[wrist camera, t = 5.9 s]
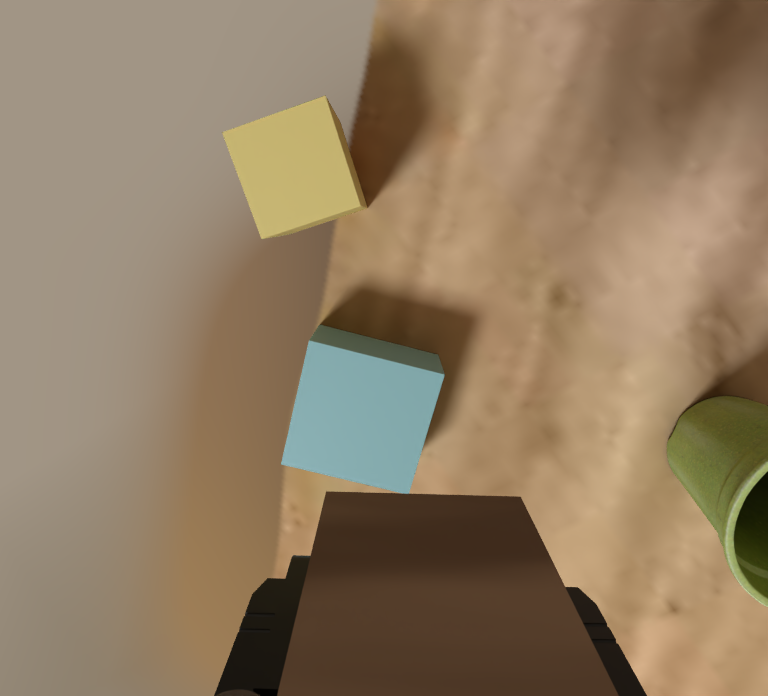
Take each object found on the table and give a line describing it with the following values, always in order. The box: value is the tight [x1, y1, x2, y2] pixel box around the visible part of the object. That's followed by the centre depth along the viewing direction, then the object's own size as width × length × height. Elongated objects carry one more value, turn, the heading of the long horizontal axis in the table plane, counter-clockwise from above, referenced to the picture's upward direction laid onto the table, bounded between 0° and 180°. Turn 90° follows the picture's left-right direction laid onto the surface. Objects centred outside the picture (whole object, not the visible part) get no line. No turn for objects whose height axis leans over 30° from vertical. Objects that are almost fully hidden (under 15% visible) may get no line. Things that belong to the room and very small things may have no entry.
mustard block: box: [222, 96, 367, 239], centre depth 24 cm, size 4×4×6 cm
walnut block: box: [277, 492, 619, 696], centre depth 9 cm, size 4×4×6 cm
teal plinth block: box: [281, 325, 445, 494], centre depth 28 cm, size 7×7×4 cm
